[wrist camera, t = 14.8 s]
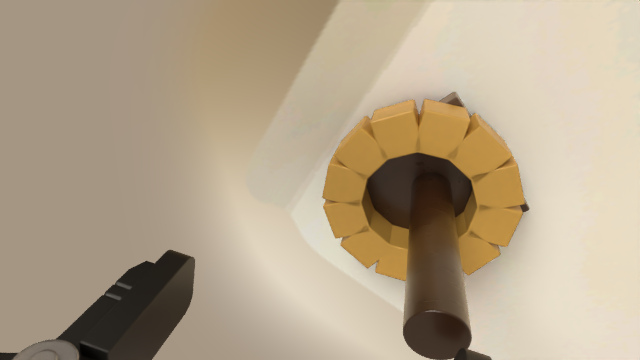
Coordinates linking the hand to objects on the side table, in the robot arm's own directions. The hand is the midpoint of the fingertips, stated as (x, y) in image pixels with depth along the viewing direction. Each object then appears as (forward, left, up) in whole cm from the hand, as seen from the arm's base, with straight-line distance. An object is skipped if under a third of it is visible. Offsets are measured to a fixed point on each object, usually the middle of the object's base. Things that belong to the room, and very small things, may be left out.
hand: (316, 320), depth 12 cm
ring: (+2, +2, -11) cm, 11 cm away
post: (+3, +2, -12) cm, 13 cm away
